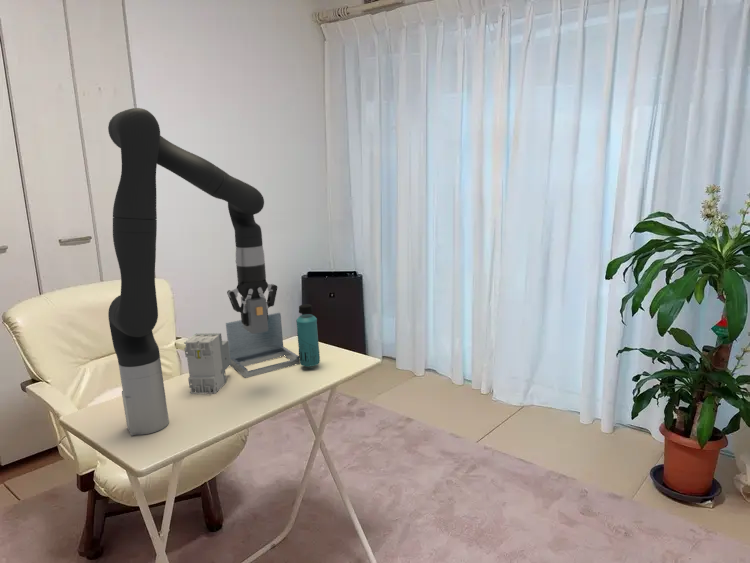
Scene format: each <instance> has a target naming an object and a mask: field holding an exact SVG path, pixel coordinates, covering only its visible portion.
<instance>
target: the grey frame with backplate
mask: <svg viewBox="0 0 750 563" xmlns="http://www.w3.org/2000/svg"><path fill="white" fill-rule="evenodd" d="M281 314H282V313H281V312H275V313H270V314H269V313H268V331H265V332H259V333H254V334H252V333H250V332H249V331H247V330H246V329H244V328H243V324H242V322H241V319H239V320H234V321H230V322H225V329H226V338H227V340H226V341H228V346H229V355H230V365H229V367H230V366H231V367H232V368H233V369H234V370H235V371H236V372H238V374H240V375H241V376H242V377H243V378H245V379H246V378H250V377H254V376H258V375H262V374H266V373H270V372H273V370H274V371H278V370H281V369H284V367H285V368H287V367H288V366H289V367H293V366H296V365H295V364H297V365H301V364H300V361H299V360H300V358H299V354H296V353H294V352H293V351H291V350H290V349H288V348H287V347H285V346H284V341H283V340H284V337H283V327H282V315H281ZM284 355H285V356H286V357H287V358H286V357H285V356H284ZM280 356H284V357H285V358H286V359H288V358H289V359H290V360H289V359H288V360H287V361H283V362H279V363H274V364H270V365H266V366H262V367H258V368H254V369H250V370H248V368H247V367H246V366H251V364H252V365H255V363H256V364H259V362H260V363H263V361H264V362H267V361H266V360H268V361H271V360H270V359H272V360H274V359H273V358H276V359H278V358H277V357H280ZM280 358H281V357H280ZM292 365H293V366H292ZM280 368H281V369H280ZM277 369H278V370H277Z"/></svg>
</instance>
